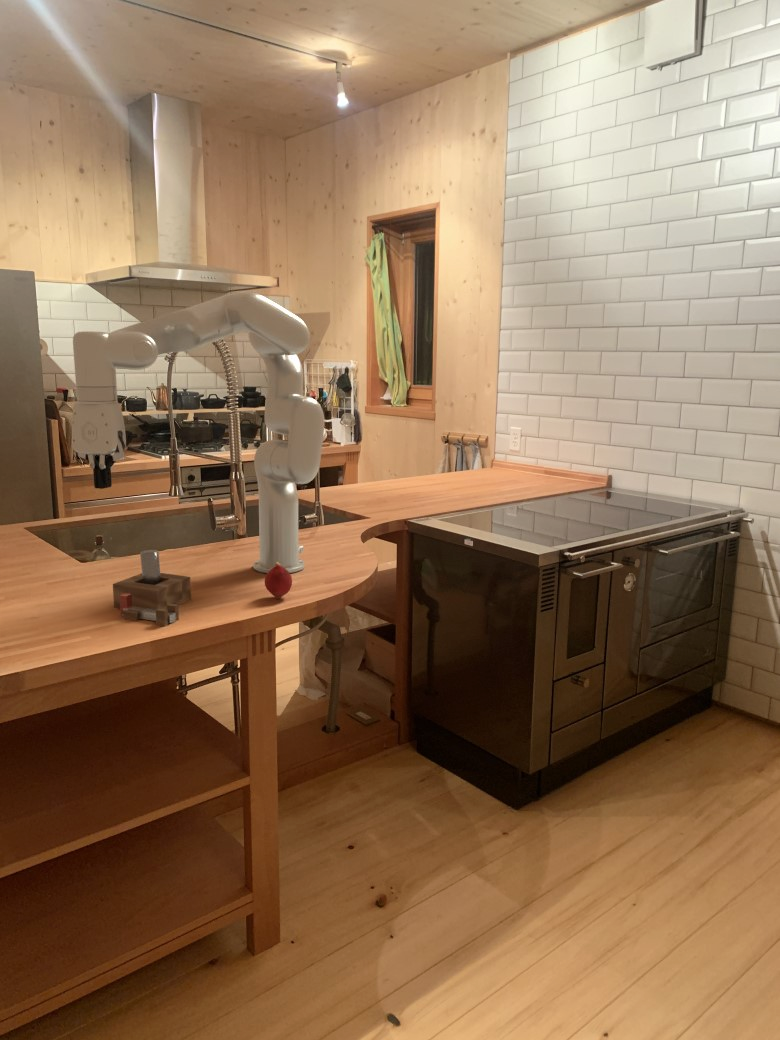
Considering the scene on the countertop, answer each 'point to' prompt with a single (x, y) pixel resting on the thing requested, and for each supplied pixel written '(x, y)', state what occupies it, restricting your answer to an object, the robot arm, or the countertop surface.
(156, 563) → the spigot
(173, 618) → the lock pin
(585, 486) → the countertop surface
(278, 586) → the onion
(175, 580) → the dock
